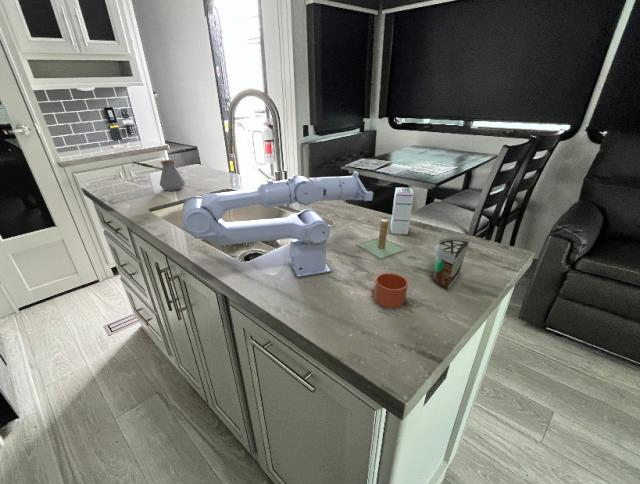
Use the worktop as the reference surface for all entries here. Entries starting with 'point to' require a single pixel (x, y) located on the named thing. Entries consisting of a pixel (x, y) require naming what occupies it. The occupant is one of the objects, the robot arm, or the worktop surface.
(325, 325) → the worktop surface
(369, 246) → the napkin
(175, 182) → the coffee pot
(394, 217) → the syrup box
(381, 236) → the stirrer
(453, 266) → the food container
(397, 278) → the cup
